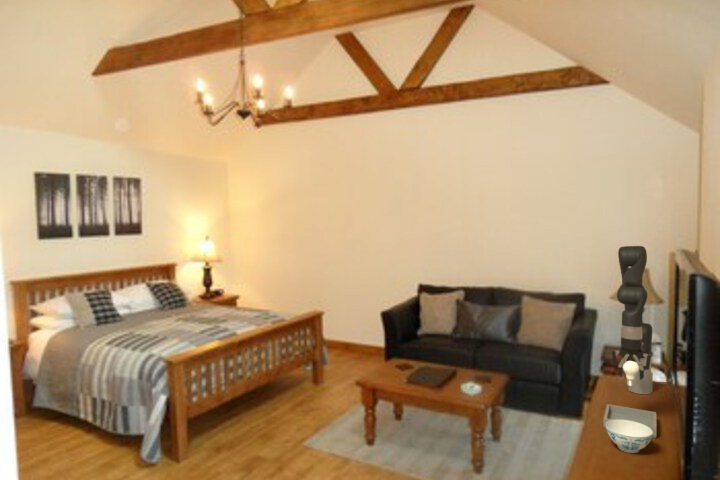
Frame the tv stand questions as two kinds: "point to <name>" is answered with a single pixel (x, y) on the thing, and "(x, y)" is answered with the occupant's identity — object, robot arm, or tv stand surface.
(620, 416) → the tray
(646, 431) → the chinaware
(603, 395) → the tv stand surface
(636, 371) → the lightbulb
